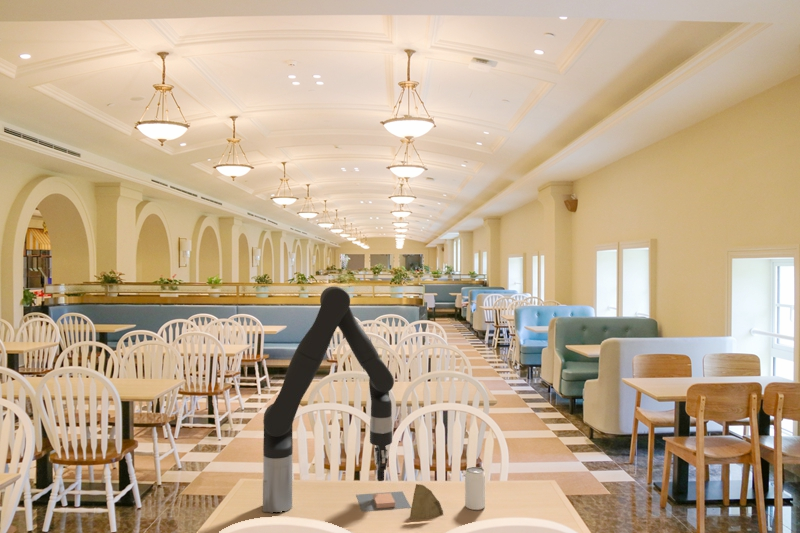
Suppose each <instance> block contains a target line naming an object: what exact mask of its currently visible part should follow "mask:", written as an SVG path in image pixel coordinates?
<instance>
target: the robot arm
mask: <svg viewBox="0 0 800 533" xmlns="http://www.w3.org/2000/svg"><path fill="white" fill-rule="evenodd" d="M319 298H320V299H319V301H320V308H319V310H318V312H317V315H316V317H315V319H314V322H313V323H312V325H311V327H310V328H309V330H308V331H307V332H306V334H304V336H303V338H302V339H301V340H300V342H299V344H298V345H297V347H296V350H295V351H294V353H293V355H292V358H291V359H290V362H289V363H288V364H289V365H288V367H287V370H286V372H285V376H284V379H283V382H282V386H281V389H280V391H279V393H278V394H277V396H276V399H275V400H274V401H273V403H272V404H269V405H268V407H267V408H266V409H265V411H264V414H263V420H262V421H263V443H262V444H263V446H262V447H263V451H262V452H263V456H262V457H263V461H262V462H263V466H262V467H263V468H262V469H263V472H262V473H263V475H262V477H263V478H262V512H263V513H270V514H271V513H272V514H274V513H273V512H280V513H282V512H281V511H285V512H287V511H289V510H291V509H293V450H294V446H293V444H294V442H293V423H294V420H295V419H296V418H295V417H296V415H297V412H298V410H299V407H300V404H301V401H302V400H303V398H304V395H305V394H306V392H307V390H308V389H309V387H310V385H311V383H312V382H313V380H314V378H315V376H316V374H317V372H318V370H319V369H320V367H321V364H322V362H323V360H324V358H325V355H326V353H327V351H328V349H329V346H330V344H331V340H332V338H333V336H334V333H336V332H335V331H336V330H337V328H338V329H339V330H340V331H341V334H342V335H343V336H344V338H345V340H346V342H347V344H348V346H349V348H350V350H351V351H352V353H353V355H354V357H355V358H356V360H357V361H358V362H357V363H358V364H359V365H360V367H361V368H362V369H363V370H364V371H365V373H366V374H367V376H368V377H369V378H368V381H369V383H368V385H369V387H368V388H369V394H370V396H369V397H370V402H371V403H370V421H369V443H370V444H371V445H373V446H375V447H374V451H373V452H374V460H375V465H376V466H375V467H376V480H377V481H378V482H383V481H385V471H386V470H387V465H388V461H389V460H388V449H387V446H389V445H391V444H392V443H393V418H392V415H393V414H392V412H393V411H392V407H393V406H392V400H391V398H390V391H391V390H392V389H393V387H394V385H395V384H394V383H395V379H394V376H393V374H392V373H391V371H390V369H389V368H388V367H387V365H386V364H385V362H383V360H382V359H381V357H380V355H379V353H378V350H377V349H376V348H375V346H374V345H373V343H372V341H371V339H370V338H369V337H368V334H367V333H366V332H365V331H364V329H363V328H362V326H361V325H360V324H359V322H358V321H357V319H356V317H355V315H354V314H353V312H352V309H351V307H350V305H351V298H350V295H349V293H348V292H347V290H345V289H344V288H341V287H338V286H329V287H327V288H325V289H324V290H323V291H322V292H321V294H320V297H319Z"/></svg>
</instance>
